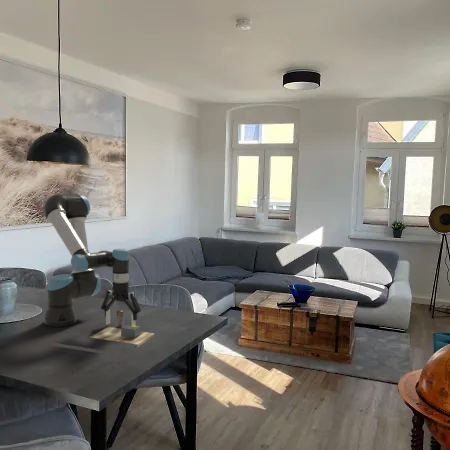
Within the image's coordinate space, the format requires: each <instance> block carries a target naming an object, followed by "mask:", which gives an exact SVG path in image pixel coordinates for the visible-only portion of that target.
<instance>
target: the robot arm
mask: <svg viewBox="0 0 450 450" xmlns="http://www.w3.org/2000/svg"><path fill="white" fill-rule="evenodd" d="M90 212H91V204H90V201H89V199H88V198H87V197H86V196H85V195H84V194H77V193H72V194H71V193H67V194H64V193H63V194H60V193H55V194H53V195H51V196H49V197H48V198H47V200H45V202H44V205H43V214H44V216H45V219H46V220H47V222H48V223H49V224H51V226H53V228H54V229H55V231H56V233H57V234H58V236H59V237H60V239H61V240H62V242H63V244H64V246H65V247H66V248H67V250H68V252H69V254H70V256H71V259H70V265H71V268H72V271H71V273H63V274H57V275H54V276H51V277H50V278H49V279H48V281H47V287H46V288H47V309H46V313H45V315H44V319H43V321H44V322H43V323H44V324H43V325H45V326H47V327H51V328H52V327H53V328H55V327H58V328H60V327H61V328H62V327H66V326H71V325H74V324H76V323H77V314H76V312H75V309H74V306H73V304H74V300H77V299H83V298H84V299H85V298H91V297H93V296H96V295H97V294H98V293H99V291H100V289H101V285H102V280H101V277H100V276H99V274H98V273H96V272H95V269H101V268H111V269H112V281H113V282H112V289H110V290H107V291H106V295H105V298H104V299H103V303H102V304H101V305H100V306H101V307H100V309H101V310H103V311H104V317H105V325H109V324H111V310H110V309H111V307H112V306H113V305H114V303H116V302H121V303H122V302H124V303H125V304H126V306H127V307H128V309H129V310H130V312H131V315H130V316H131V320H130V321H131V323H130V325H136V322H137V320H138V314H139V313H140V312H142V310H141V307H140V304H139V302H138V300H137V298H136V293H135V292H134V291H133V292H129V290H130V287H129V284H130V282H129V280H130V277H129V273H130V271H129V270H130V269H129V268H130V253H129V250H128V249H126V248H114V249H113V250H112V251H108V250H100V251H98V252H89V245H88V239H87V238H88V237H87V230H86V224H85V222H86V221H87V219H88V217H87V216H89V214H90ZM112 296H113V297H112ZM111 297H112V298H111ZM110 299H111V300H110ZM136 326H137V325H136Z"/></svg>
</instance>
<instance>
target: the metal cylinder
mask: <svg viewBox="0 0 450 450" xmlns="http://www.w3.org/2000/svg"><path fill="white" fill-rule="evenodd" d="M123 326H125V310H124V309H121V310H120V309H119V310H117V311H116V328H119V329H121V327H123Z"/></svg>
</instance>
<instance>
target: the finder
mask: <svg viewBox="0 0 450 450" xmlns="http://www.w3.org/2000/svg"><path fill="white" fill-rule="evenodd" d="M120 329H121V336H123V337H130V338H136V337H138V336H139V335H140V331H141V326H140V325H131V324H124V326H123V327H121V328H120Z"/></svg>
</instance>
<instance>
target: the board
mask: <svg viewBox="0 0 450 450" xmlns="http://www.w3.org/2000/svg"><path fill="white" fill-rule="evenodd" d="M154 337H155V333H154V332H147V331H141V330H140V335H139V336H138V337H136V338H130V337H123V336H121V328H117V327H111V326H108V327H106V328H103V330H100V331H99V332H97V333H95V334H93V335H91V336H90V337H89V338H91V339H97V340H98V339H99V340H106V341H112V342H118V343H125V344H130V345H131V344H133V345H135V346H134V347H135V348H139V347H140V346H142V345H143V344H144V343H146V342H148V341H149V340H151V339H152V338H154Z"/></svg>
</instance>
